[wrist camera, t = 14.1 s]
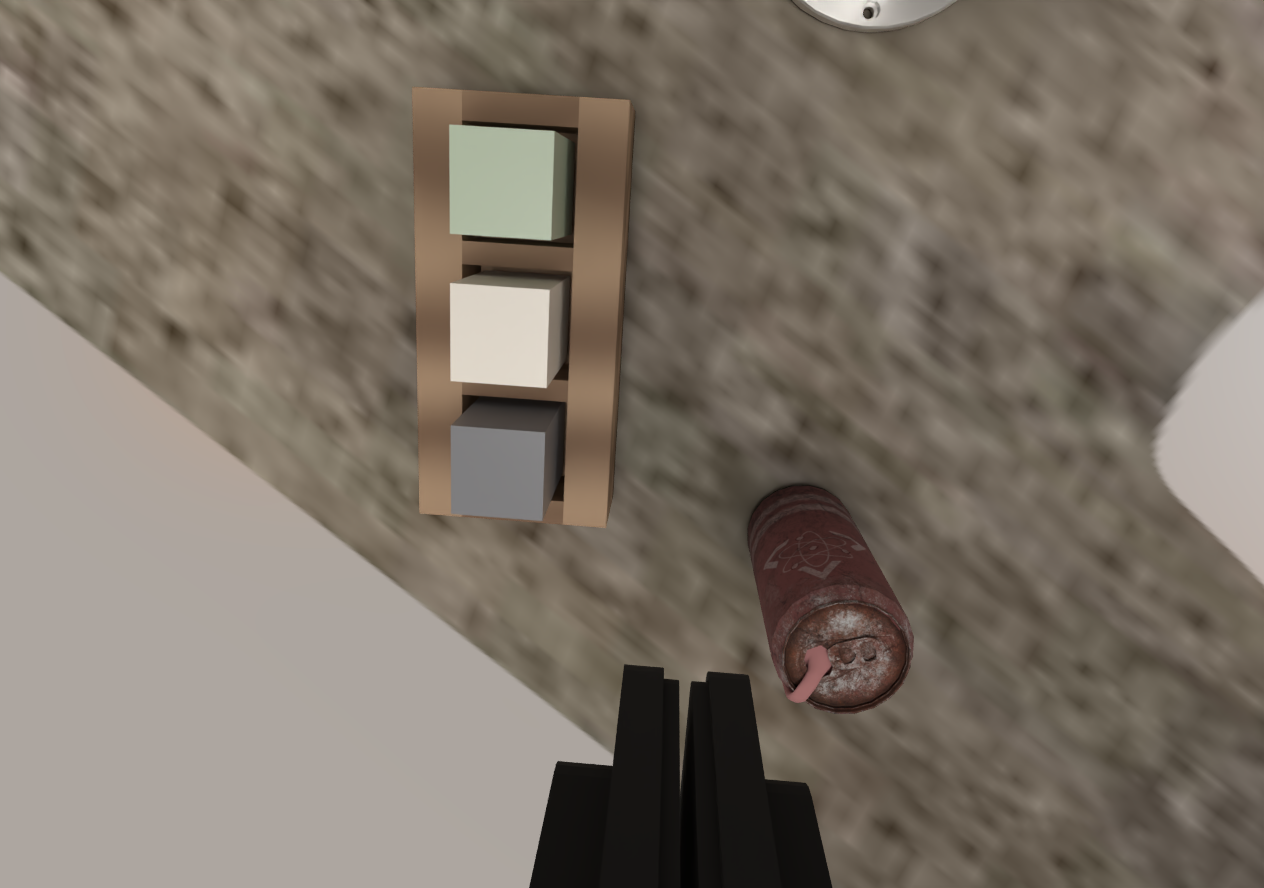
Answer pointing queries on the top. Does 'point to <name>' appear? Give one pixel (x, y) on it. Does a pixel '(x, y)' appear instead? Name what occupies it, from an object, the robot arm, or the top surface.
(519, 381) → the key ivory
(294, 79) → the top surface
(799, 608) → the can
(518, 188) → the key sage
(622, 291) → the brown wooden block rack
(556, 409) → the key charcoal
